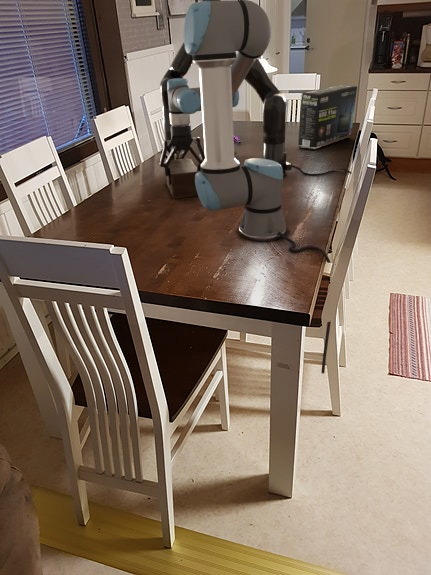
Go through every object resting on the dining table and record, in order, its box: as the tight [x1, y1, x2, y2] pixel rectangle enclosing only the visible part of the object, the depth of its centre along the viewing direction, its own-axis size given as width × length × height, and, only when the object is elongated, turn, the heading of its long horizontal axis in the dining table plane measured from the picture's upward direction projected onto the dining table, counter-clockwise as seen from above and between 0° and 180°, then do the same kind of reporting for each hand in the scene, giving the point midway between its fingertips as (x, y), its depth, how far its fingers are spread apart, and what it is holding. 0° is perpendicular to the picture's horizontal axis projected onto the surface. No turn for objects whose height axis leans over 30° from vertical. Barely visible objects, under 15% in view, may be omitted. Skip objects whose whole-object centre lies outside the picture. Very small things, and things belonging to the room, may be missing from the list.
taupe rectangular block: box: [165, 158, 199, 199], centre depth 186 cm, size 18×11×10 cm, turn 13°
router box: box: [297, 84, 358, 151], centre depth 238 cm, size 36×11×27 cm, turn 134°
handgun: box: [234, 135, 242, 145], centre depth 257 cm, size 21×8×2 cm, turn 11°
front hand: (184, 182), depth 181 cm, fingers closed on taupe rectangular block, 11 cm apart
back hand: (176, 170), depth 201 cm, fingers closed
